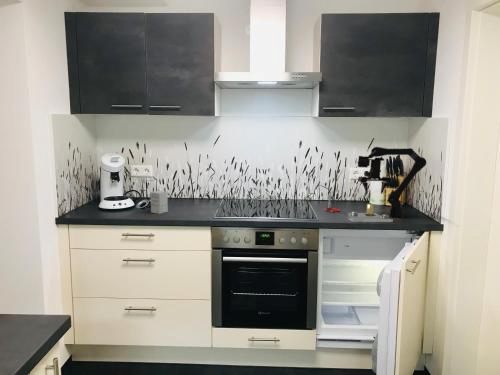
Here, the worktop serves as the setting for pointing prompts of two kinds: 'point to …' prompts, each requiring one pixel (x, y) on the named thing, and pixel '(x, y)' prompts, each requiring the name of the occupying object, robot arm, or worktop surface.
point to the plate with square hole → (368, 217)
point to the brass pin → (370, 210)
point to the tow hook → (330, 205)
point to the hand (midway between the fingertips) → (374, 193)
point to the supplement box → (159, 202)
